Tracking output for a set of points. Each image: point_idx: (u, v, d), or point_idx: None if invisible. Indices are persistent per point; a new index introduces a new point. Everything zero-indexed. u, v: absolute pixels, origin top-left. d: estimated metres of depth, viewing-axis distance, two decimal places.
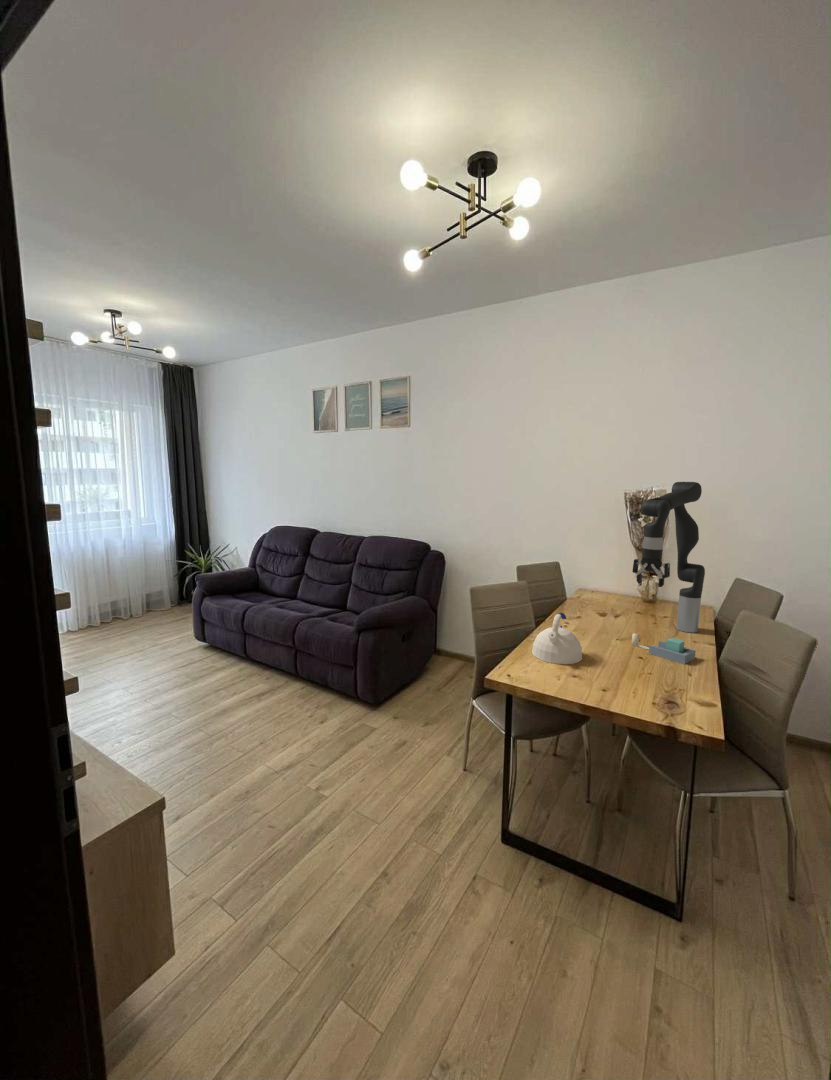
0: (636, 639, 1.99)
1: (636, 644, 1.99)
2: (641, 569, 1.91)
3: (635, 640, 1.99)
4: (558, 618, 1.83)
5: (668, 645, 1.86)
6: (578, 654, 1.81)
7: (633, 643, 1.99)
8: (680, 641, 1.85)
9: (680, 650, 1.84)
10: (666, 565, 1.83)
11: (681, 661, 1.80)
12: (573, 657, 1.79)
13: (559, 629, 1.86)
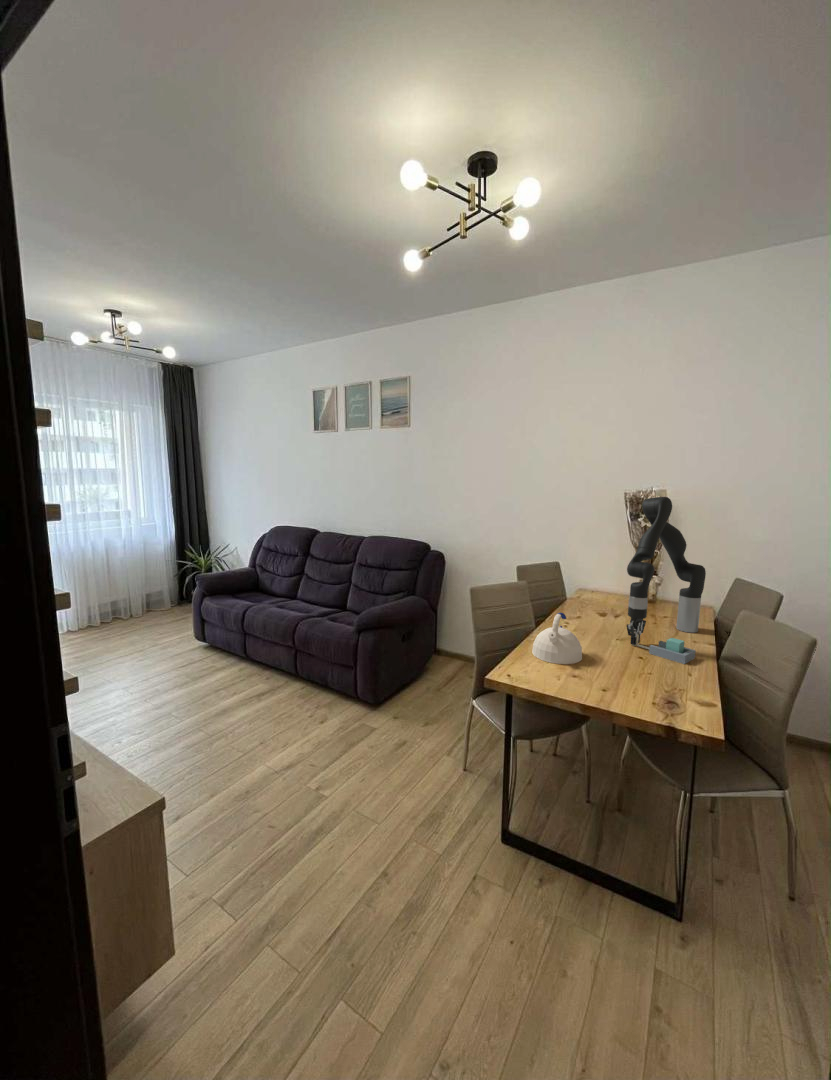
0: (636, 639, 1.99)
1: (636, 644, 1.99)
2: (638, 630, 1.97)
3: None
4: (558, 618, 1.83)
5: (668, 645, 1.86)
6: (578, 654, 1.81)
7: None
8: (680, 641, 1.85)
9: (680, 650, 1.84)
10: (645, 622, 2.02)
11: (681, 661, 1.80)
12: (573, 657, 1.79)
13: (559, 629, 1.86)
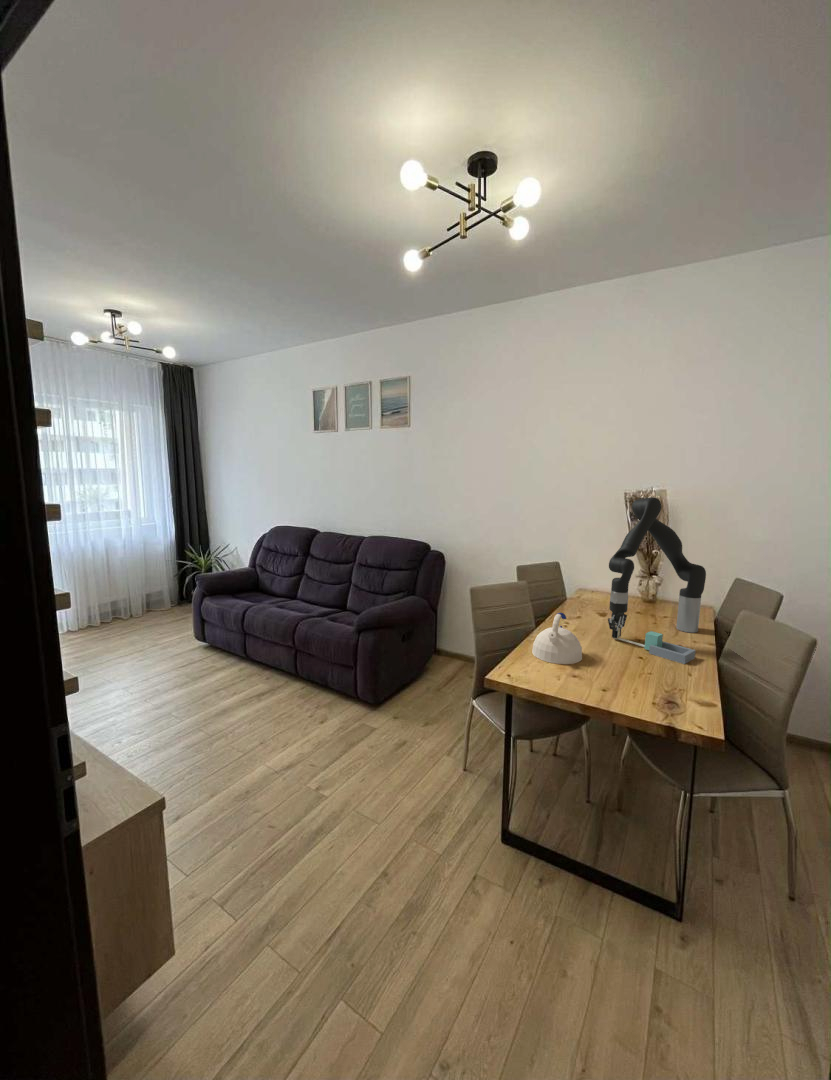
0: None
1: (617, 637, 2.05)
2: (619, 624, 2.03)
3: None
4: (558, 618, 1.83)
5: (647, 638, 1.93)
6: (578, 654, 1.81)
7: None
8: (658, 634, 1.92)
9: (658, 642, 1.91)
10: (626, 616, 2.08)
11: (681, 661, 1.80)
12: (573, 657, 1.79)
13: (559, 629, 1.86)
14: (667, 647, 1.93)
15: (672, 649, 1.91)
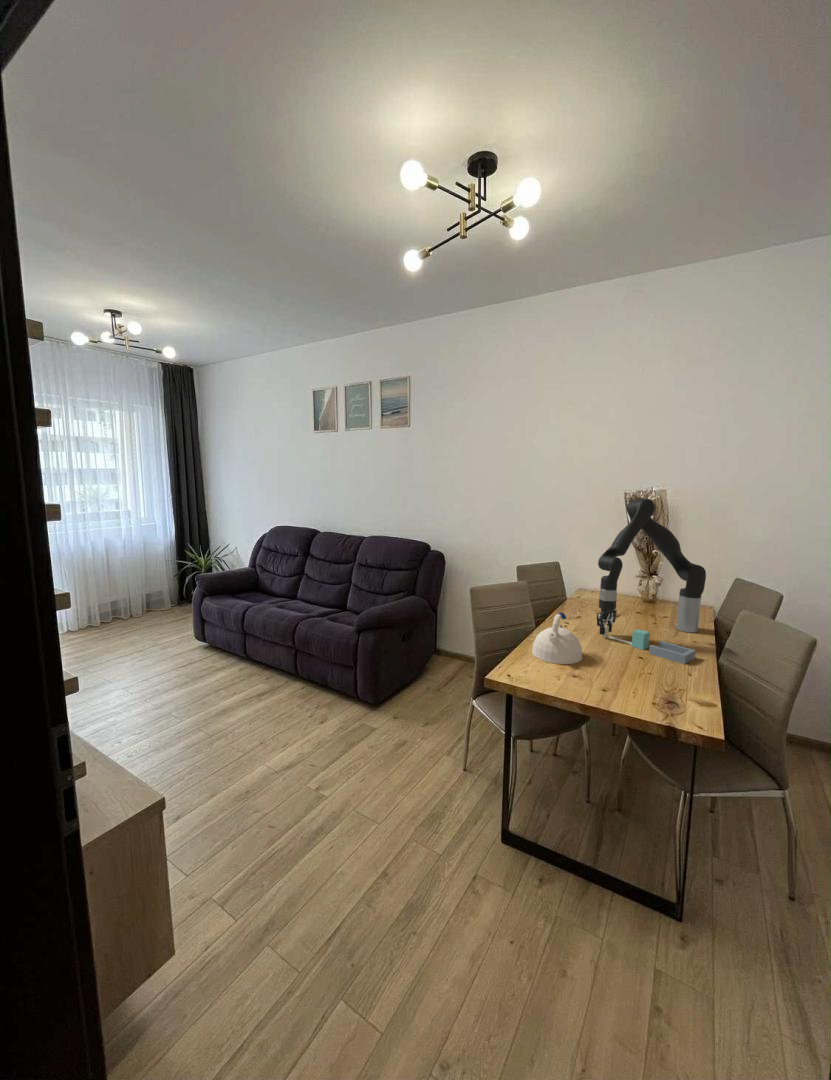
0: (606, 630, 2.10)
1: (606, 635, 2.10)
2: (607, 621, 2.07)
3: (605, 631, 2.10)
4: (558, 618, 1.83)
5: (634, 635, 1.97)
6: (578, 654, 1.81)
7: None
8: (645, 632, 1.96)
9: (644, 640, 1.95)
10: (616, 611, 2.13)
11: (681, 661, 1.80)
12: (573, 657, 1.79)
13: (559, 629, 1.86)
14: (667, 647, 1.93)
15: (672, 649, 1.91)
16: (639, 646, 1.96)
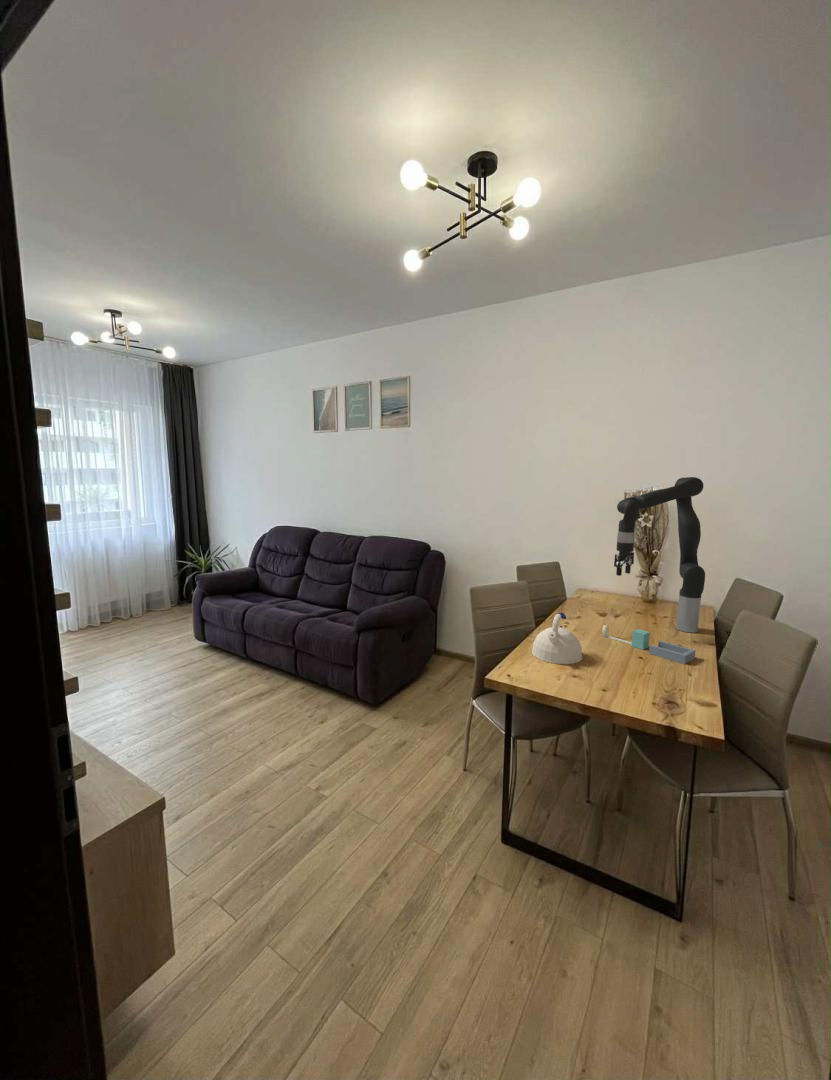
0: (606, 630, 2.10)
1: (606, 635, 2.10)
2: (624, 562, 2.12)
3: (605, 631, 2.10)
4: (558, 618, 1.83)
5: (634, 635, 1.97)
6: (578, 654, 1.81)
7: (603, 634, 2.10)
8: (645, 632, 1.96)
9: (644, 640, 1.95)
10: (633, 553, 2.18)
11: (681, 661, 1.80)
12: (573, 657, 1.79)
13: (559, 629, 1.86)
14: (667, 647, 1.93)
15: (672, 649, 1.91)
16: (639, 646, 1.96)
